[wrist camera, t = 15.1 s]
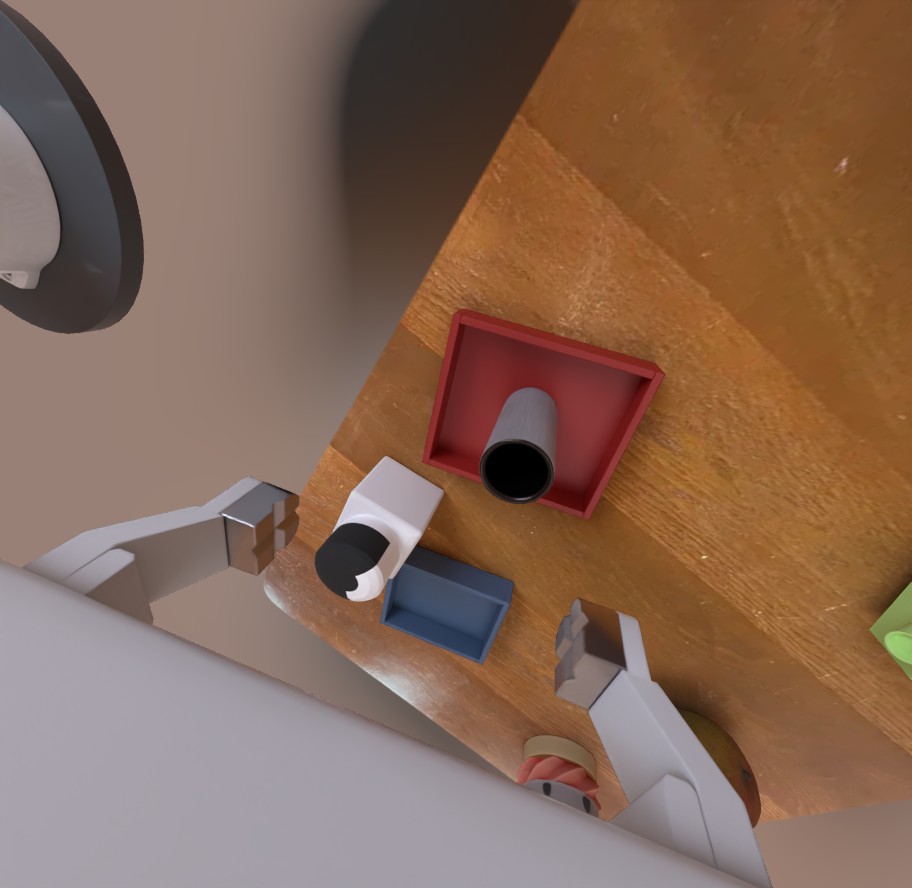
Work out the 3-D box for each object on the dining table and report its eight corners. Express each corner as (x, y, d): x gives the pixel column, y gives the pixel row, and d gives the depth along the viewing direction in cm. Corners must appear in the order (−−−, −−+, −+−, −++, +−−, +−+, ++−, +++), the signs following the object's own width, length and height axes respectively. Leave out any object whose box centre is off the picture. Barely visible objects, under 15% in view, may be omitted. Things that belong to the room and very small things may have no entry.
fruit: (751, 741, 41) (800, 868, 33) (642, 753, 47) (660, 863, 39) (699, 675, 39) (737, 792, 31) (592, 696, 45) (598, 799, 36)
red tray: (432, 448, 36) (421, 462, 33) (463, 308, 29) (453, 312, 27) (586, 500, 34) (588, 520, 31) (656, 363, 27) (665, 374, 25)
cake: (506, 746, 55) (487, 897, 42) (555, 724, 49) (551, 890, 36) (562, 784, 55) (560, 946, 42) (615, 768, 50) (633, 945, 37)
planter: (566, 396, 30) (566, 453, 21) (547, 444, 32) (539, 514, 23) (512, 379, 30) (489, 428, 21) (497, 427, 32) (470, 490, 24)
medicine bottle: (363, 500, 41) (293, 580, 31) (386, 453, 37) (317, 527, 27) (417, 533, 41) (367, 625, 31) (446, 490, 37) (400, 578, 27)
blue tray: (389, 602, 47) (379, 622, 45) (402, 540, 42) (392, 558, 39) (487, 642, 46) (482, 665, 43) (514, 582, 40) (510, 604, 38)
